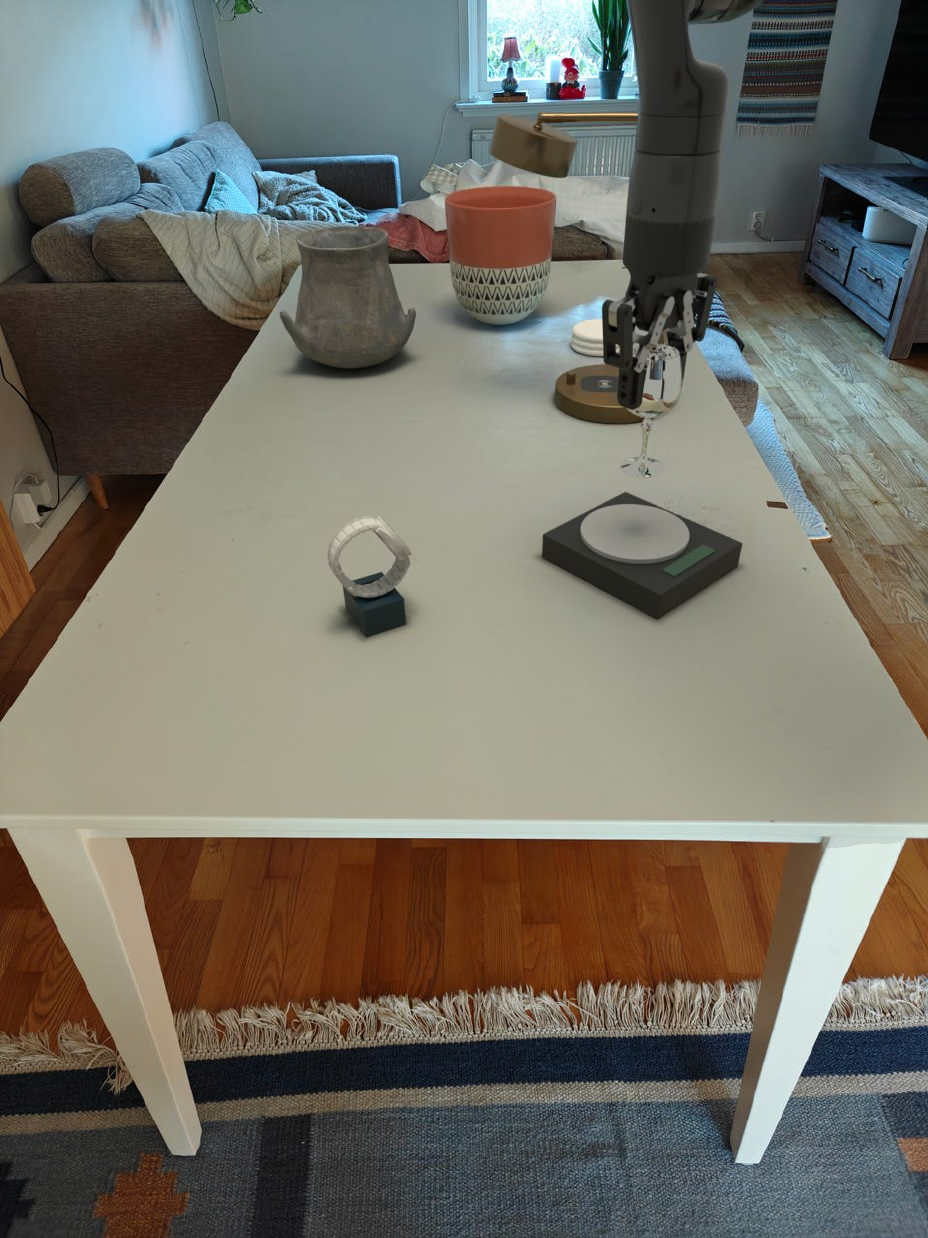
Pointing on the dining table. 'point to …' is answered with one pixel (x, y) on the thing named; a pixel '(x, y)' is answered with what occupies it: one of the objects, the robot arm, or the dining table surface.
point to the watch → (372, 578)
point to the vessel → (348, 299)
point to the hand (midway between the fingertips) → (650, 396)
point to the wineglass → (655, 402)
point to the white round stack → (589, 338)
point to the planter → (500, 249)
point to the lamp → (551, 155)
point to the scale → (641, 553)
